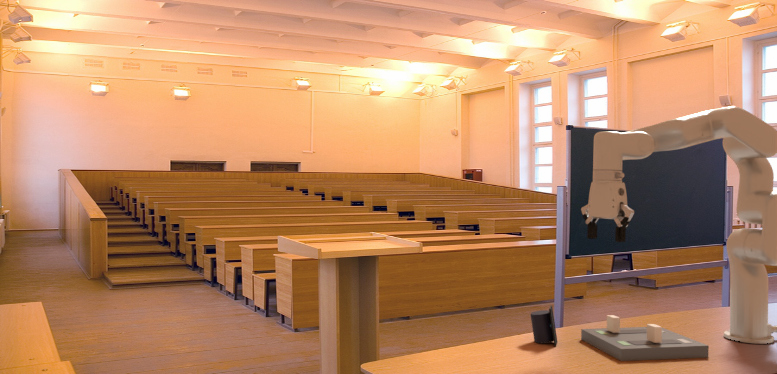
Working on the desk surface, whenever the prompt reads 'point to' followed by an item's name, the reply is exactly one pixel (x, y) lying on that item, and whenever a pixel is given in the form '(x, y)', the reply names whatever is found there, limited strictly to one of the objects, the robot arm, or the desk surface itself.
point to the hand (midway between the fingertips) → (605, 240)
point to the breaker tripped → (654, 333)
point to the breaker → (613, 323)
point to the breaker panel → (643, 344)
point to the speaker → (544, 326)
